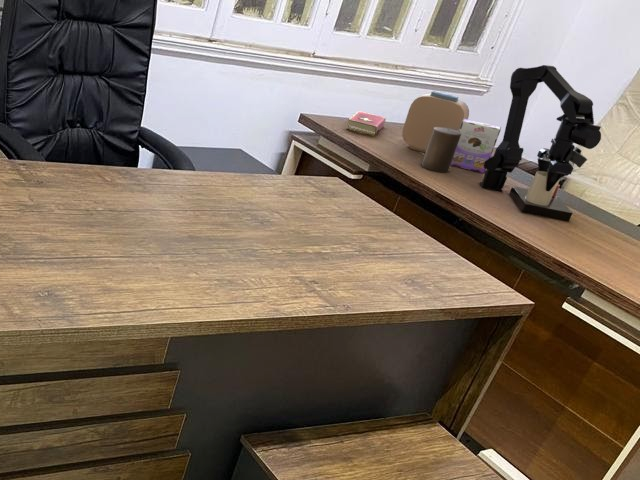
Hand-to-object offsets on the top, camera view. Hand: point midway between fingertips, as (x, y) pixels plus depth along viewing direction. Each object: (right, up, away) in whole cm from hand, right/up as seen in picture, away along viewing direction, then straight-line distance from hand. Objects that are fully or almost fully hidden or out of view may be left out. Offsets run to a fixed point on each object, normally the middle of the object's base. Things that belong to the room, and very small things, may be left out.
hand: (543, 186), depth 257 cm
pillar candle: (-23, +15, +33) cm, 43 cm away
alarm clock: (-18, +28, +54) cm, 63 cm away
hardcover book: (-37, +42, +72) cm, 91 cm away
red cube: (+8, 0, +11) cm, 14 cm away
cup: (-1, -4, +3) cm, 5 cm away
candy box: (-8, +17, +40) cm, 44 cm away
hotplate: (+2, -5, +8) cm, 10 cm away
